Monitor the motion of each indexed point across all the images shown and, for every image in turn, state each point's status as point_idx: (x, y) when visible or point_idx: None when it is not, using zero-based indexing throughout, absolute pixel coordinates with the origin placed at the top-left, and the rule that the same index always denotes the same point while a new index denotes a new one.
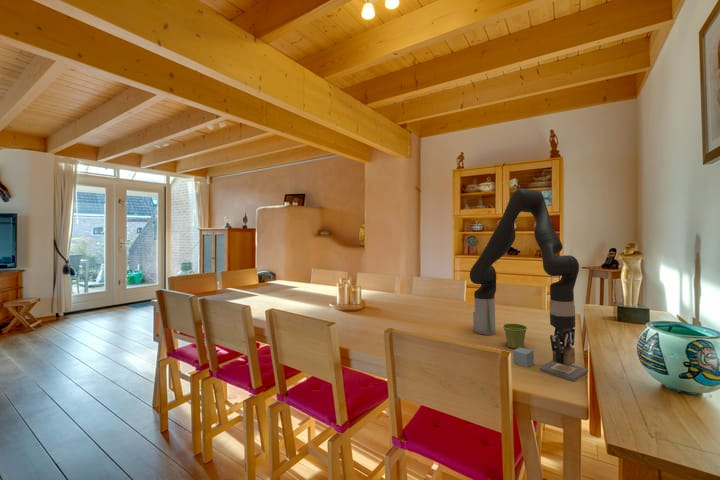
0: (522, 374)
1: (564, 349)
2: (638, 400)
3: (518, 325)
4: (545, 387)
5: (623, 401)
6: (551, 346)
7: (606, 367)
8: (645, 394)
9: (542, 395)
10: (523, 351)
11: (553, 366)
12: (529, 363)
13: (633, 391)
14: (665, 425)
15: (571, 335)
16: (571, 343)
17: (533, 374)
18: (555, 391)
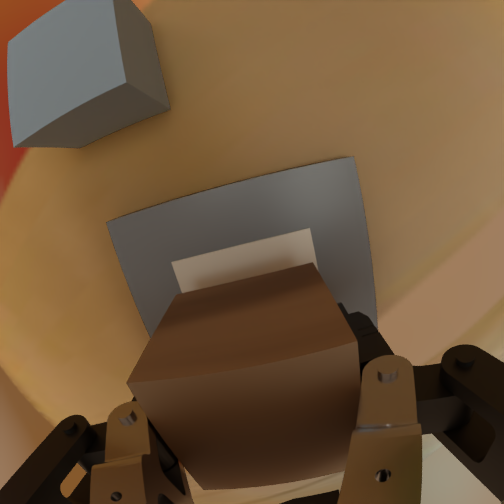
0: (12, 219)
1: (224, 462)
2: (268, 500)
3: None
4: (37, 357)
5: (221, 494)
6: (34, 451)
7: (481, 343)
8: (327, 491)
9: (11, 376)
10: (39, 76)
11: (213, 257)
12: (100, 132)
13: (320, 481)
14: None
15: (501, 486)
16: (438, 428)
17: (52, 245)
18: (56, 390)
